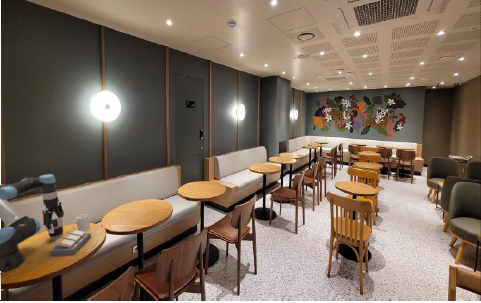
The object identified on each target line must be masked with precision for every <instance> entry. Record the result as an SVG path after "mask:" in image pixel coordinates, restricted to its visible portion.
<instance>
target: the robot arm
mask: <svg viewBox="0 0 481 303" xmlns="http://www.w3.org/2000/svg"><path fill="white" fill-rule="evenodd" d="M56 183H57V182H56V177H55V175H54V174H53V173H51V174H42V175H40V176H39V177H26V178H22V180H20V181H17V182H16V183H15V182H14V183H10V184H0V220H2V222H3V223H5V224H6V227H2V228H0V271H1V272H4V273H7V272H9V271H12V270H14V269H16V268H18V267H20V265H23V263H25V260H26V256H25V255H24V254H23V253H22V251H20V248H19V244H21V243H23V242H25V241H26V240H28V239H29V238H32V237H33V236H35V235H36V234H37V233H39V231H40V230H41V223H40V222H41V221H40V220H39V219H38V218H36V217H29V216H28V215H23V214H22V213H20V212H19V211H18V210H17V208H15V207H14V206H13V204H11V203H10V202H9V201H8V200H10V199H14V198H16V197H18V196H22V195H23V194H26V193H29V192H32V191H38V190H39V191H41V197H42V202H43V205H44V206H45V209H43V210H41V212H42V220H43V221H42V222H43V226H46V225H47V229H48V230H47V233H48V232H49V233H48V235H49V234H50V233H54V229H53V224H51V222H52V220H53V214H55V215H56V216H57V217H56V219H57V222H58V227H62V226H63V227H64V221H63V222H62V220H63V218H64V217H65V216H64V215H65V212H64V210H63V207H62V202H61V201H60V200H59V196H58V195H59V194H58V189H57V184H56Z"/></svg>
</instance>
